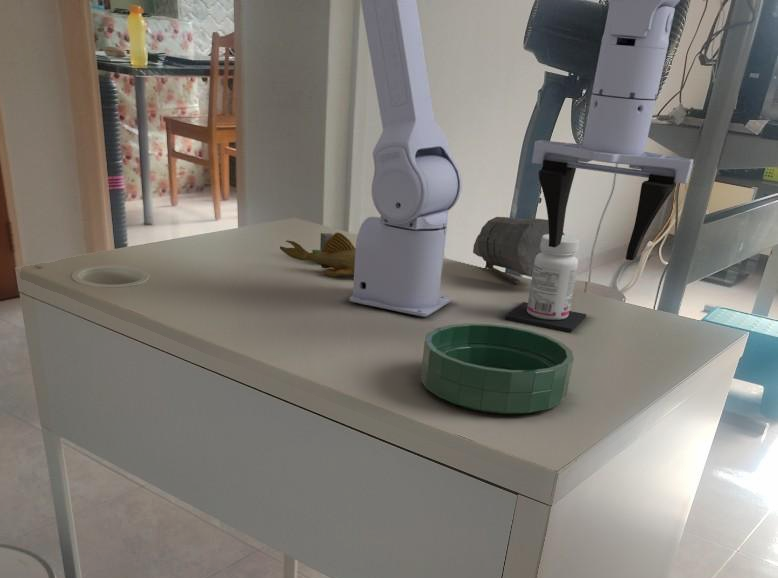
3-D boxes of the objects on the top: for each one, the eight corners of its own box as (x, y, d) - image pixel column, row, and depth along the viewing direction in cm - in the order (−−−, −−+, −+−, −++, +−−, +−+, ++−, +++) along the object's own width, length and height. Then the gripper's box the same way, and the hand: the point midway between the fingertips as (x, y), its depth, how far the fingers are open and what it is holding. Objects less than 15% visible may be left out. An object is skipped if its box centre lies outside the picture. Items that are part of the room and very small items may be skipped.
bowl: (397, 395, 71) (401, 350, 69) (450, 355, 81) (455, 314, 79) (542, 431, 67) (551, 384, 65) (579, 384, 77) (588, 342, 75)
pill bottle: (553, 307, 98) (567, 232, 93) (576, 320, 94) (591, 242, 89) (518, 309, 96) (530, 232, 92) (539, 321, 92) (553, 242, 88)
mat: (504, 319, 94) (505, 315, 93) (522, 305, 99) (523, 301, 99) (571, 332, 91) (571, 328, 91) (585, 317, 97) (586, 314, 96)
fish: (378, 288, 102) (383, 247, 100) (272, 266, 104) (274, 225, 101) (386, 277, 106) (392, 237, 104) (284, 256, 108) (287, 216, 105)
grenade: (512, 288, 102) (457, 273, 115) (568, 290, 105) (509, 275, 118) (521, 218, 99) (464, 211, 112) (579, 222, 102) (517, 214, 115)
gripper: (534, 89, 75) (510, 246, 82) (701, 107, 70) (660, 272, 77) (554, 88, 80) (530, 235, 87) (710, 104, 76) (671, 258, 83)
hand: (592, 251), depth 83 cm, fingers open, 7 cm apart
